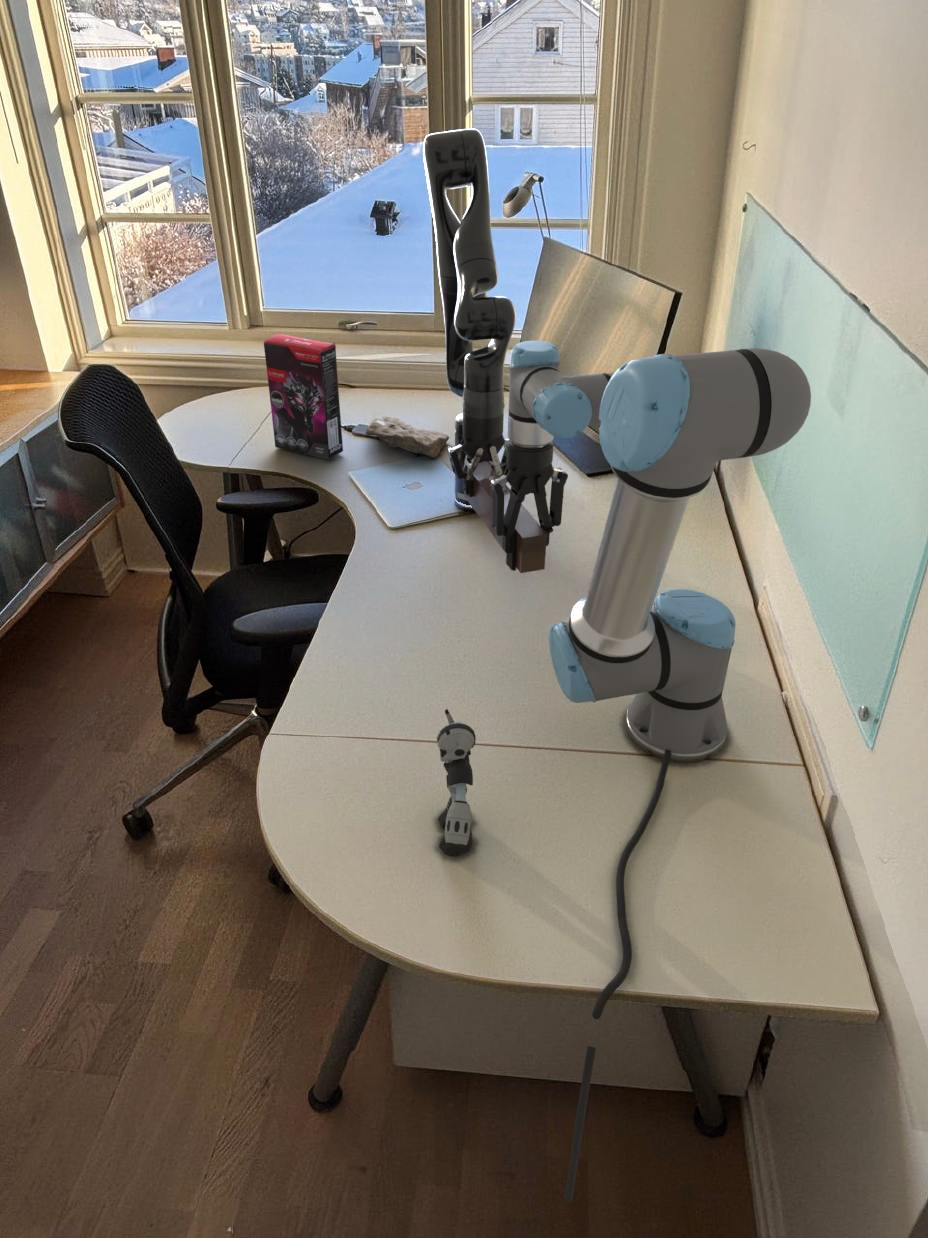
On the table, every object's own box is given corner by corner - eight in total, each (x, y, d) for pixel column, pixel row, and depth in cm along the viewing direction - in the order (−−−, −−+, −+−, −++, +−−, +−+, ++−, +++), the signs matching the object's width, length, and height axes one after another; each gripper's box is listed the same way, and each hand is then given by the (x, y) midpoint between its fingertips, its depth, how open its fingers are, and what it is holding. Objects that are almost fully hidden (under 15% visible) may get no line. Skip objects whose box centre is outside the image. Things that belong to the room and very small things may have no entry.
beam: (544, 569, 160) (547, 534, 156) (520, 573, 159) (522, 538, 155) (485, 493, 183) (486, 460, 179) (464, 496, 182) (464, 463, 178)
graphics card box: (273, 448, 231) (260, 339, 216) (289, 438, 236) (278, 332, 221) (329, 461, 225) (320, 351, 210) (345, 451, 230) (337, 342, 215)
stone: (350, 440, 227) (354, 417, 225) (371, 432, 241) (376, 409, 239) (429, 465, 224) (434, 441, 222) (446, 455, 237) (452, 432, 235)
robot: (478, 890, 117) (481, 774, 106) (439, 891, 117) (438, 775, 106) (469, 781, 133) (471, 671, 122) (436, 782, 133) (434, 671, 122)
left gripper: (511, 397, 173) (508, 479, 183) (439, 406, 169) (440, 490, 179) (527, 411, 168) (523, 495, 177) (453, 421, 163) (453, 507, 173)
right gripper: (570, 424, 155) (561, 546, 168) (471, 438, 150) (470, 562, 163) (589, 441, 149) (579, 566, 162) (488, 455, 144) (485, 583, 157)
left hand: (481, 492), depth 178 cm, fingers closed on beam, 4 cm apart
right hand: (524, 564), depth 162 cm, fingers closed on beam, 4 cm apart
